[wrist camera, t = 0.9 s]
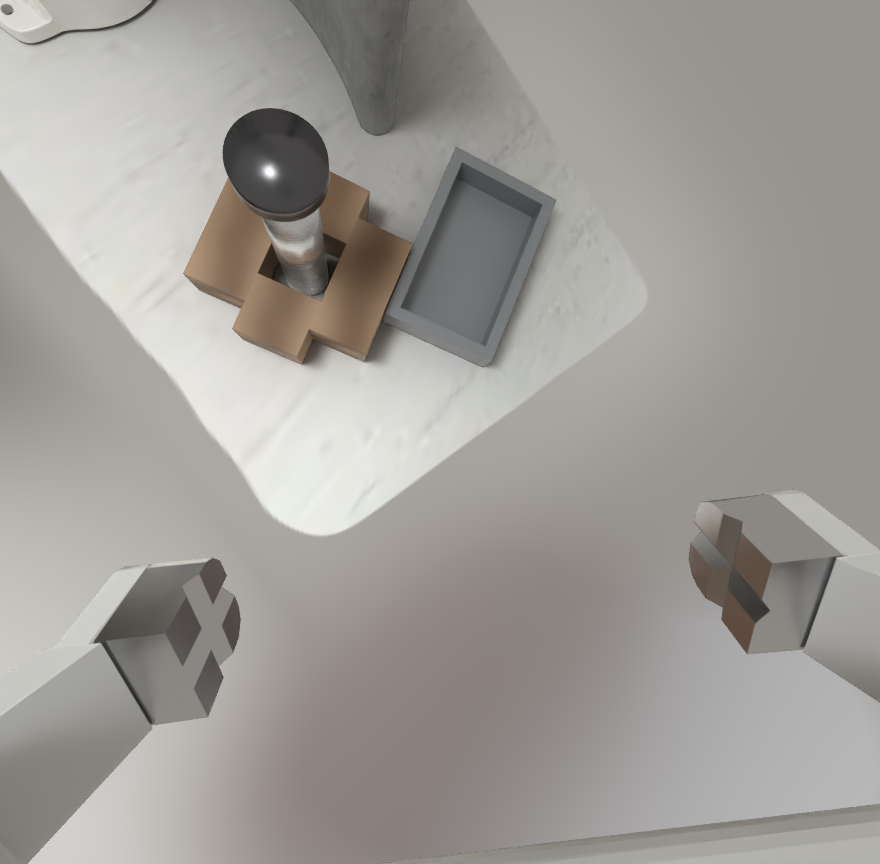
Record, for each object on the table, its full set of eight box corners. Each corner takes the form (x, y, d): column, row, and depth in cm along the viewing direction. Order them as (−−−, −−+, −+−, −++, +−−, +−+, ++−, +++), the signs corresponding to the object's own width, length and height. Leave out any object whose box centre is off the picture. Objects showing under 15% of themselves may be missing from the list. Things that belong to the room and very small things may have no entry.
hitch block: (187, 315, 40) (169, 302, 36) (259, 161, 41) (250, 131, 37) (353, 386, 42) (353, 381, 38) (416, 238, 44) (423, 218, 40)
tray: (382, 321, 43) (384, 312, 40) (449, 166, 44) (455, 146, 41) (482, 367, 44) (491, 361, 41) (543, 215, 46) (556, 200, 43)
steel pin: (266, 289, 41) (205, 179, 24) (290, 235, 42) (248, 89, 24) (323, 314, 42) (304, 226, 25) (346, 262, 42) (344, 139, 25)
